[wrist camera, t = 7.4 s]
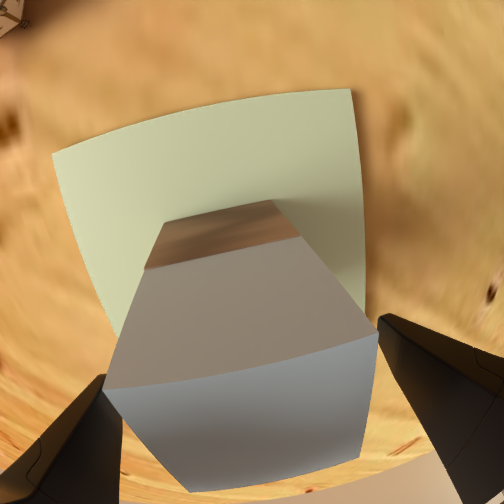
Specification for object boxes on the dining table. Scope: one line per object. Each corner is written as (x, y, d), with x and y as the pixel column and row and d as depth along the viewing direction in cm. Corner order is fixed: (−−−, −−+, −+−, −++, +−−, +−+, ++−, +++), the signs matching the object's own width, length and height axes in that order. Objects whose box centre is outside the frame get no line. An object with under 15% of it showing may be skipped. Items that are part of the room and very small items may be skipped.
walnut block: (269, 199, 15) (300, 234, 10) (284, 291, 18) (312, 352, 12) (164, 222, 15) (143, 268, 10) (191, 311, 17) (188, 379, 12)
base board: (342, 90, 14) (350, 88, 14) (358, 327, 21) (363, 335, 20) (59, 152, 14) (51, 154, 13) (144, 374, 20) (142, 383, 19)
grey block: (301, 235, 10) (379, 332, 5) (312, 353, 13) (359, 457, 7) (144, 270, 10) (102, 389, 5) (189, 380, 12) (189, 492, 7)
